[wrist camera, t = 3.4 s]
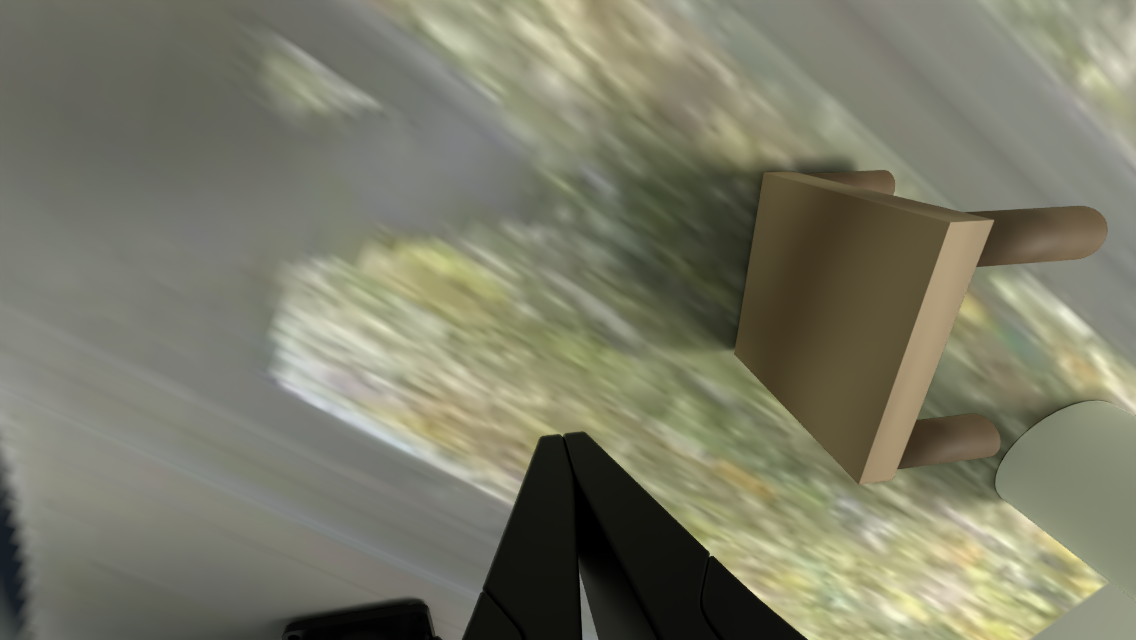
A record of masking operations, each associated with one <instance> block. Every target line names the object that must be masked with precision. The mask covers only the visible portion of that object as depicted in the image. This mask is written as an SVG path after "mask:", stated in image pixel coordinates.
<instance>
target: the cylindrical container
mask: <svg viewBox="0 0 1136 640" xmlns="http://www.w3.org/2000/svg"><path fill="white" fill-rule="evenodd" d="M995 486H996V490H997V493H998V494H999V495H1000V497H1001V498H1002V499H1004V500H1005V501H1006V502H1008V503H1009V504H1010V505H1011V506H1013V507H1014V508H1015V509H1017V510H1018V511H1019V512H1020V513H1022V514H1023V515H1024V516H1026V517H1027V518H1028V519H1029V520H1031V521H1032V522H1033V523H1035V524H1036V525H1037V526H1038V527H1040V528H1041V529H1042V530H1044V531H1045V532H1046V533H1047V534H1049V535H1050V536H1051V537H1053V538H1054V539H1055V540H1056V541H1058V542H1059V543H1060V544H1062V545H1063V546H1064V547H1065V548H1067V549H1068V550H1069V551H1071V552H1072V553H1073V554H1074V555H1076V556H1077V557H1078V558H1080V559H1081V560H1082V561H1083V562H1085V563H1086V564H1087V565H1088V566H1090V567H1091V568H1092V569H1094V570H1095V571H1096V572H1097V573H1099V574H1100V575H1101V576H1103V577H1104V578H1105V579H1106V580H1108V581H1109V582H1110V583H1112V584H1113V585H1114V586H1115V587H1117V588H1118V589H1119V590H1121V591H1122V592H1123V593H1125V594H1126V595H1127V596H1128V597H1130V598H1131V599H1132V600H1133V601H1135V602H1136V415H1134V414H1131V413H1129V412H1127V411H1125V410H1123V409H1121V408H1119V407H1117V406H1115V405H1113V404H1111V403H1109V402H1105V401H1098V400H1096V401H1085V402H1081V403H1078V404H1074V405H1071V406H1068V407H1066V408H1064V409H1061V410H1059V411H1057V412H1055V413H1053V414H1051V415H1050V416H1048V417H1046V418H1044V419H1043V420H1042V421H1040V422H1039V423H1037V424H1036V425H1034V426H1033V427H1032V428H1031V429H1029V430H1028V431H1027V432H1026V433H1025V434H1024V435H1022V436H1021V437H1020V439H1019V440H1018V441H1017V442H1016V443H1015V444H1014V445H1013V446H1012V447H1011V449H1010V450H1009V451H1008V452H1007V454H1006V455H1005V457H1004V458H1003V460H1002V462H1001V464H1000V466H999V468H998V471H997V474H996V481H995Z"/></svg>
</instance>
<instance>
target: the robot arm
mask: <svg viewBox="0 0 1136 640" xmlns="http://www.w3.org/2000/svg"><path fill="white" fill-rule="evenodd" d="M579 570H580V574H581V577H582V581H583V585H584V588H585V592H586V596H587V599H588V603H589V607H590V610H591V614H592V617H593V621H594V625H595V628H596V632H597V636H598V639H599V640H808V639H807V638H805V637H804V636H803V635H802V634H800V633H799V632H798V631H797V630H795V629H794V628H793V627H792V626H791V625H790V624H788V623H787V622H786V621H785V620H784V619H782V618H781V617H780V616H779V615H778V614H776V613H775V612H774V611H773V610H772V609H770V608H769V607H768V606H767V605H766V604H765V603H763V602H762V601H761V600H760V599H759V598H758V597H757V596H755V595H754V594H753V593H752V592H751V591H750V590H749V589H748V588H747V587H746V586H745V585H743V584H742V583H741V582H740V581H739V580H738V579H737V578H736V577H735V576H734V575H733V574H732V573H730V572H729V571H728V570H727V569H726V568H725V567H724V566H723V565H722V564H721V563H720V562H719V561H718V560H717V559H716V558H715V557H714V556H710V553H709V551H708V550H706V549H705V548H704V547H703V546H702V545H701V544H700V543H699V542H698V541H697V540H696V539H695V538H694V537H693V536H692V535H691V534H690V533H689V532H688V531H687V530H686V529H685V528H684V527H683V526H682V525H681V524H680V523H679V522H678V521H677V520H675V519H674V518H673V517H672V516H671V515H670V514H669V513H668V512H667V511H666V510H665V509H664V508H663V507H662V506H661V505H660V504H659V503H658V502H657V501H656V500H655V499H654V498H653V497H652V496H651V495H650V494H649V493H648V492H647V491H646V490H644V489H643V488H642V487H641V486H640V485H639V484H638V483H637V482H636V481H635V480H634V479H633V478H632V477H631V476H630V475H629V474H628V473H627V472H626V471H625V470H624V469H623V468H622V467H621V466H620V465H619V464H618V463H617V462H616V461H615V460H613V459H612V458H611V457H610V456H609V455H608V454H607V453H606V452H605V451H604V450H603V449H602V448H601V447H600V446H599V445H598V444H597V443H596V442H595V441H594V440H593V439H592V438H591V437H590V436H589V435H588V434H587V433H585V432H573V433H566V434H564V435H563V437H562V436H561V435H560V434H555V435H546V436H542V437H540V439H539V441H538V443H537V446H536V449H535V451H534V454H533V456H532V459H531V462H530V464H529V467H528V470H527V472H526V475H525V477H524V480H523V483H522V485H521V488H520V491H519V493H518V496H517V499H516V501H515V504H514V506H513V509H512V512H511V514H510V517H509V520H508V522H507V525H506V527H505V530H504V533H503V535H502V538H501V541H500V543H499V546H498V549H497V551H496V554H495V556H494V559H493V562H492V564H491V567H490V570H489V572H488V575H487V577H486V580H485V583H484V585H483V592H481V593H480V595H479V598H478V600H477V603H476V606H475V608H474V611H473V614H472V616H471V619H470V621H469V623H468V626H467V628H466V631H465V633H464V635H463V638H462V640H582V621H581V600H580V579H579ZM282 640H442V639H441V638H440V637H439V636H435V631H434V627H433V623H432V619H431V615H430V610H429V608H428V606H427V605H425V604H411V605H405V606H398V607H392V608H385V609H379V610H373V611H366V612H360V613H353V614H347V615H340V616H334V617H328V618H321V619H315V620H308V621H302V622H295V623H291V624H289V625H287V626H286V628H285V630H284V633H283V635H282Z"/></svg>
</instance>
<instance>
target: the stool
mask: <svg viewBox="0 0 1136 640" xmlns="http://www.w3.org/2000/svg"><path fill="white" fill-rule="evenodd" d="M894 190H895V180H894V177H893V175H892V174H891V173H890V172H888V171H886V170H876V171H852V172H829V173H805V174H801V173H797V172H792V171H786V172H764V175H763V181H762V187H761V193H760V199H759V205H758V211H757V217H756V224H755V230H754V236H753V242H752V248H751V254H750V260H749V266H748V273H747V279H746V285H745V291H744V297H743V303H742V309H741V316H740V322H739V328H738V334H737V340H736V346H735V352H734V354H735V355H736V356H737V357H738V358H739V360H740V361H741V362H742V363H743V364H744V365H745V366H746V367H747V368H748V369H749V370H750V371H751V372H752V373H753V374H754V375H755V376H756V377H757V378H758V379H759V380H760V382H761V383H762V384H763V385H764V386H765V387H766V388H767V389H768V390H769V391H770V392H771V393H772V394H773V395H774V396H775V397H776V398H777V399H778V400H779V401H780V403H781V404H782V405H783V406H784V407H785V408H786V409H787V410H788V411H789V412H790V413H791V414H792V415H793V416H794V417H795V418H796V419H797V420H798V421H799V422H800V423H801V425H802V426H803V427H804V428H805V429H806V430H807V431H808V432H809V433H810V434H811V435H812V436H813V437H814V438H815V439H816V440H817V441H818V442H819V443H820V444H821V446H822V447H823V448H824V449H825V450H826V451H827V452H828V453H829V454H830V455H831V456H832V457H833V458H834V459H835V460H836V461H837V462H838V463H839V464H840V465H841V466H842V468H843V469H844V470H845V471H846V472H847V473H848V474H849V475H850V476H851V477H852V478H853V479H854V480H855V481H856V482H857V483H858V484H859V485H860V484H867V483H875V482H882V481H889V480H893V478H894V476H895V473H896V470H897V469H903V468H910V467H918V466H925V465H933V464H940V463H948V462H955V461H962V460H970V459H977V458H985V457H991V456H993V455H995V454H996V453H997V452H998V450H999V448H1000V444H1001V440H1000V435H999V433H998V430H997V429H996V427H995V426H994V425H993V423H992V422H991V421H989V420H988V419H987V418H985V417H983V416H981V415H978V414H964V415H955V416H947V417H939V418H930V419H922V420H916V419H917V417H918V414H919V412H920V409H921V406H922V404H923V401H924V399H925V396H926V394H927V391H928V388H929V386H930V383H931V381H932V378H933V376H934V373H935V371H936V368H937V365H938V363H939V360H940V358H941V355H942V353H943V350H944V348H945V345H946V342H947V340H948V337H949V335H950V332H951V330H952V327H953V324H954V322H955V319H956V317H957V314H958V312H959V309H960V307H961V304H962V301H963V299H964V296H965V294H966V291H967V289H968V286H969V283H970V281H971V278H972V276H973V273H974V271H975V268H976V267H981V266H995V265H1008V264H1022V263H1036V262H1049V261H1063V260H1075V259H1081V258H1084V257H1087V256H1089V255H1091V254H1092V253H1094V252H1095V251H1097V250H1098V249H1099V248H1100V247H1101V245H1102V244H1103V243H1104V241H1105V239H1106V236H1107V231H1108V228H1107V223H1106V220H1105V218H1104V217H1103V216H1102V215H1101V213H1099V212H1098V211H1097V210H1095V209H1093V208H1090V207H1086V206H1069V207H1051V208H1033V209H1015V210H998V211H980V212H959V211H955V210H951V209H947V208H943V207H939V206H934V205H930V204H926V203H922V202H918V201H913V200H909V199H905V198H901V197H897V196H893V194H894Z"/></svg>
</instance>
